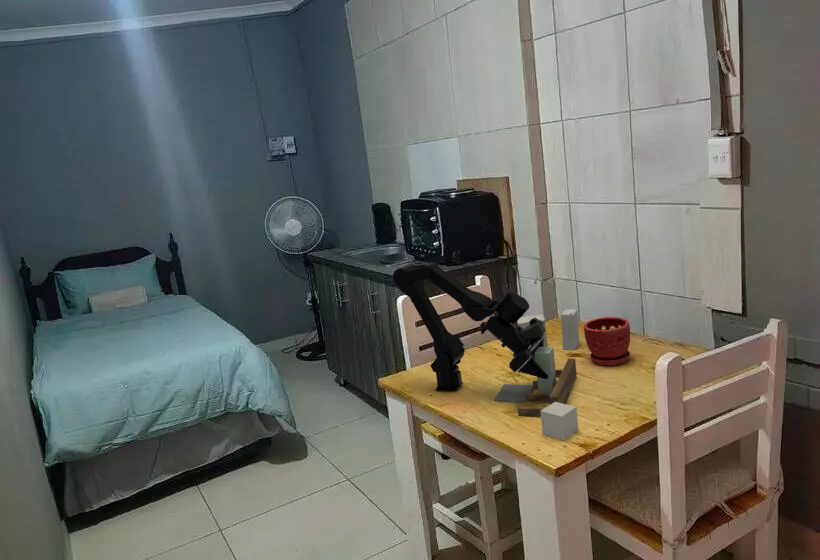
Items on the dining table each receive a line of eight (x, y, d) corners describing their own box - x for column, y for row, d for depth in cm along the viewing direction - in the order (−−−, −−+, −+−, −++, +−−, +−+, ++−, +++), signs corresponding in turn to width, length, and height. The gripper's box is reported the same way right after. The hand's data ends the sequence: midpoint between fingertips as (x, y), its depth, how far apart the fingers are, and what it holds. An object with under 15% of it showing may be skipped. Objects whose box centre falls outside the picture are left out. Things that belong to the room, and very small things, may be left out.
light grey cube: (557, 424, 151) (555, 401, 150) (578, 430, 147) (576, 406, 146) (542, 434, 148) (540, 410, 146) (563, 440, 143) (561, 416, 142)
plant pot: (603, 350, 196) (600, 314, 194) (640, 357, 186) (638, 319, 183) (577, 363, 189) (574, 325, 186) (615, 371, 178) (612, 332, 176)
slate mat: (493, 401, 170) (493, 399, 170) (504, 385, 179) (504, 384, 179) (525, 402, 166) (525, 401, 166) (534, 386, 176) (534, 385, 176)
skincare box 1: (548, 361, 193) (543, 313, 190) (551, 368, 187) (546, 319, 184) (521, 363, 194) (516, 316, 191) (523, 371, 188) (517, 322, 185)
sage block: (539, 398, 167) (534, 353, 165) (542, 391, 172) (538, 346, 169) (554, 399, 166) (549, 353, 163) (557, 391, 170) (553, 346, 167)
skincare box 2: (567, 343, 207) (564, 308, 205) (580, 343, 205) (577, 308, 202) (562, 349, 202) (559, 314, 199) (576, 350, 200) (573, 314, 197)
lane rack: (518, 415, 159) (516, 395, 158) (540, 375, 183) (538, 358, 182) (559, 417, 154) (557, 397, 153) (576, 376, 178) (575, 358, 177)
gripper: (516, 323, 157) (564, 364, 155) (532, 303, 174) (576, 340, 172) (490, 352, 162) (536, 392, 160) (508, 330, 179) (550, 366, 176)
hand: (550, 371), depth 167 cm, fingers open, 9 cm apart
